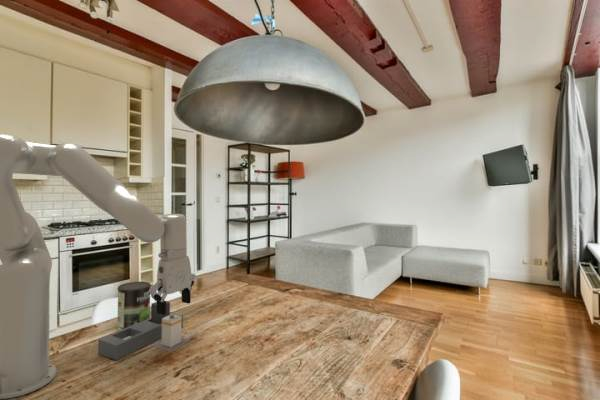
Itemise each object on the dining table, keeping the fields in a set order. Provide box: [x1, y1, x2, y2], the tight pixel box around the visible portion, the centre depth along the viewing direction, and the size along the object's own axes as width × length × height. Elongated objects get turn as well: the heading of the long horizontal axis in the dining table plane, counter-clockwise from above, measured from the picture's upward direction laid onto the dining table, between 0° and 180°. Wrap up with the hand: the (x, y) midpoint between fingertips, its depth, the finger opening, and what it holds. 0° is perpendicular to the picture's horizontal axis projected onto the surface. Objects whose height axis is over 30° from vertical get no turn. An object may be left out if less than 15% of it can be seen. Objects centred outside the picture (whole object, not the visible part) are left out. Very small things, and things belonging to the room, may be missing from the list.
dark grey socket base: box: [97, 311, 184, 361], centre depth 96 cm, size 24×8×4 cm, turn 156°
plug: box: [161, 314, 182, 347], centre depth 94 cm, size 4×4×9 cm
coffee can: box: [116, 281, 152, 331], centre depth 107 cm, size 10×10×14 cm
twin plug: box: [150, 300, 171, 324], centre depth 102 cm, size 4×4×9 cm
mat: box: [151, 337, 191, 353], centre depth 94 cm, size 8×8×1 cm
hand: (174, 307), depth 94 cm, fingers open, 9 cm apart
